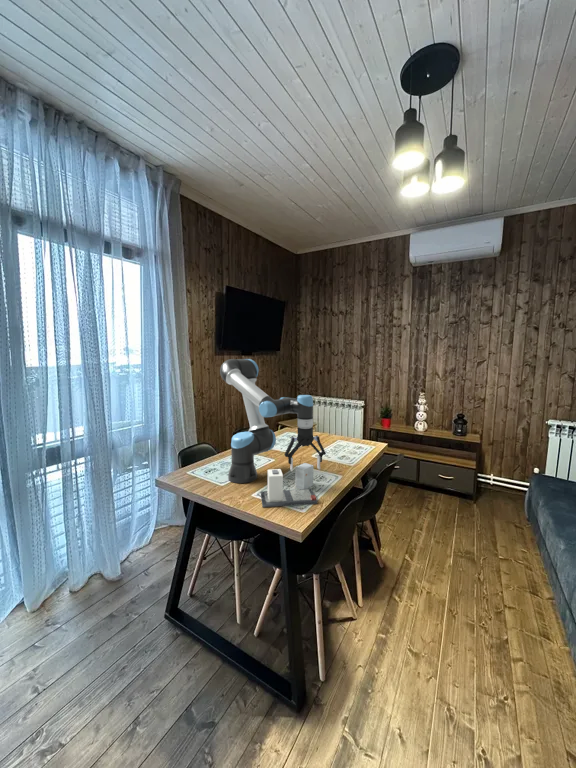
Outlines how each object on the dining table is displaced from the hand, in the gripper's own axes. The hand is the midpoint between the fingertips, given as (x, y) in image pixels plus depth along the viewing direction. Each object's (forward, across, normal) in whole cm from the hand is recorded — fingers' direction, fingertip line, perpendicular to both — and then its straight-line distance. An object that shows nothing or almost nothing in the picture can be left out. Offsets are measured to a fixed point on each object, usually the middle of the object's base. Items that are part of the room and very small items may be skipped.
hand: (305, 469), depth 151 cm
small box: (+9, 0, 0) cm, 9 cm away
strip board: (+9, -10, -12) cm, 18 cm away
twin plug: (+7, -16, -12) cm, 21 cm away
